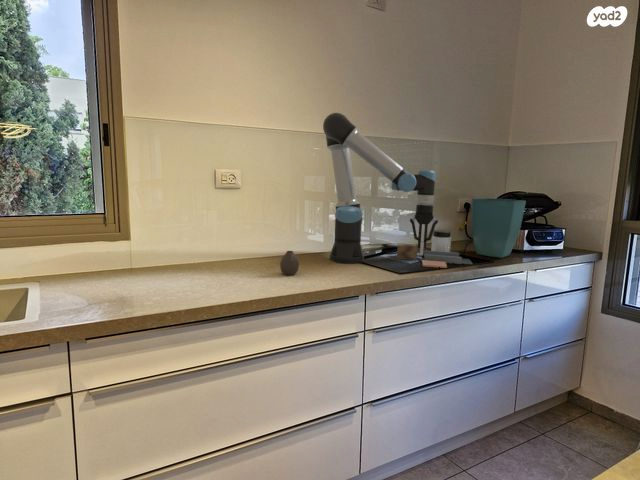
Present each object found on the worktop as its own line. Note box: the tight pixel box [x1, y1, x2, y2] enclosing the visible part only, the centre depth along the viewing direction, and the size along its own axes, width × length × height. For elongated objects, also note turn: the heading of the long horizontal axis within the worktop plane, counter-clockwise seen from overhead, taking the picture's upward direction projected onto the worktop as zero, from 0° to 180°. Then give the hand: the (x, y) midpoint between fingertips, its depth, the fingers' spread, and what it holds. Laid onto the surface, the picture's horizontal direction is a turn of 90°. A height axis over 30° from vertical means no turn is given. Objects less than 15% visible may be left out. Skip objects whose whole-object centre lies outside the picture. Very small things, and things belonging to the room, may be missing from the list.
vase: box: [279, 250, 300, 277], centre depth 154 cm, size 7×7×9 cm
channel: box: [423, 249, 463, 265], centre depth 193 cm, size 16×12×3 cm
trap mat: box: [461, 258, 474, 266], centre depth 191 cm, size 5×12×1 cm, turn 167°
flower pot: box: [471, 197, 527, 259], centre depth 209 cm, size 20×20×28 cm
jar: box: [430, 229, 452, 252], centre depth 205 cm, size 9×8×12 cm
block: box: [396, 243, 418, 261], centre depth 196 cm, size 9×7×6 cm
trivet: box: [421, 259, 448, 269], centre depth 182 cm, size 10×10×1 cm
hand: (421, 254), depth 195 cm, fingers closed
